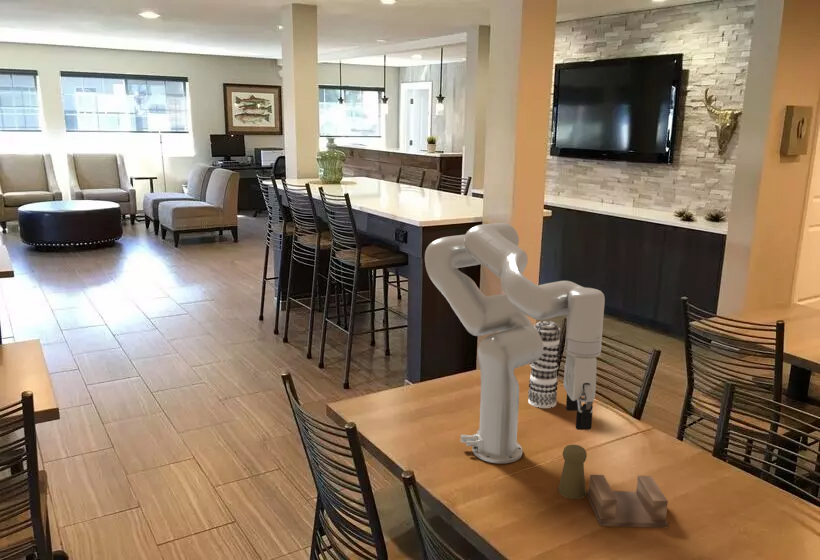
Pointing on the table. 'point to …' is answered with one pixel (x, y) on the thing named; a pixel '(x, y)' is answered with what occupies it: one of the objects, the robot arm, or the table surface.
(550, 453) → the table surface
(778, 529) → the table surface
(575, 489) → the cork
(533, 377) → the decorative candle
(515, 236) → the robot arm
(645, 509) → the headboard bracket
